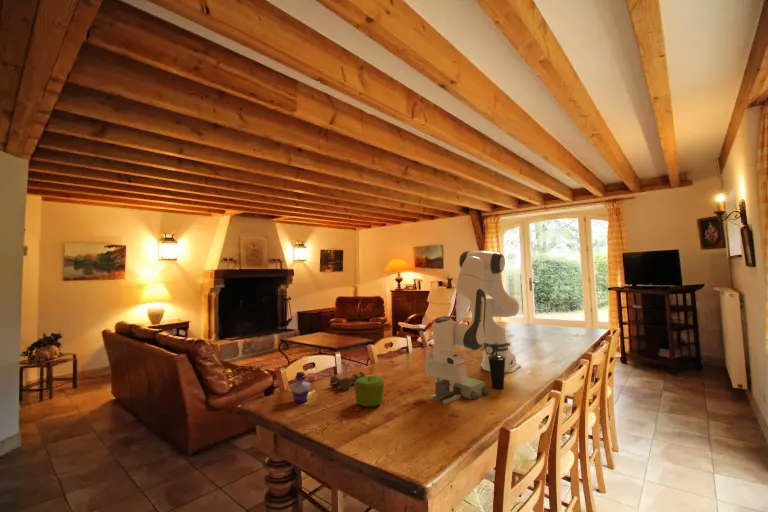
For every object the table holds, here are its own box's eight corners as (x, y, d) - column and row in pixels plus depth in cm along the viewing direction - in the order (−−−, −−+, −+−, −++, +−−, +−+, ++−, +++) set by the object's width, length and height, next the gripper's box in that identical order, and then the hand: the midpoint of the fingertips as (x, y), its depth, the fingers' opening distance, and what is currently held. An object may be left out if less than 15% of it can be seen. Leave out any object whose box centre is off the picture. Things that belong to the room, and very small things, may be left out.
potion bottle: (314, 398, 148) (314, 370, 149) (305, 406, 140) (304, 376, 141) (296, 397, 151) (296, 369, 151) (286, 404, 142) (285, 374, 143)
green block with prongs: (453, 383, 163) (453, 373, 163) (489, 393, 148) (488, 382, 149) (420, 395, 149) (420, 383, 149) (456, 408, 134) (455, 395, 134)
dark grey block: (448, 390, 149) (447, 376, 149) (455, 392, 146) (454, 378, 146) (435, 395, 144) (435, 380, 144) (443, 397, 141) (442, 383, 141)
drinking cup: (487, 389, 154) (485, 344, 155) (490, 384, 161) (489, 341, 162) (505, 391, 151) (503, 345, 152) (508, 386, 157) (506, 342, 158)
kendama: (369, 384, 167) (335, 394, 153) (356, 381, 174) (323, 390, 160) (368, 372, 167) (335, 380, 154) (356, 369, 174) (322, 376, 161)
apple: (368, 396, 149) (368, 370, 149) (391, 402, 141) (390, 374, 142) (348, 405, 139) (347, 377, 140) (370, 413, 131) (370, 382, 132)
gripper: (421, 353, 151) (422, 385, 151) (458, 361, 136) (460, 397, 135) (430, 351, 155) (431, 382, 155) (468, 358, 140) (469, 393, 139)
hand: (445, 389), depth 145 cm, fingers closed on dark grey block, 4 cm apart
